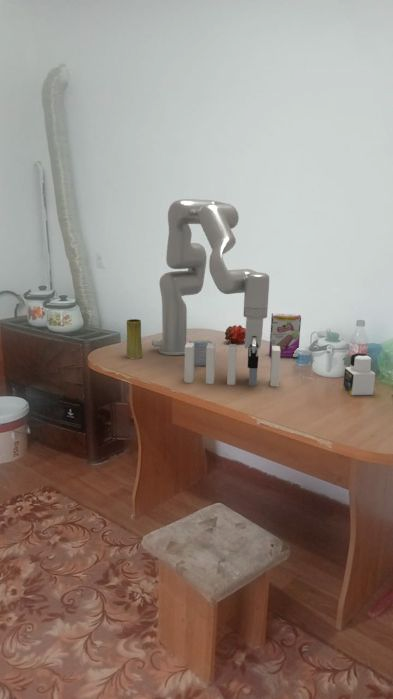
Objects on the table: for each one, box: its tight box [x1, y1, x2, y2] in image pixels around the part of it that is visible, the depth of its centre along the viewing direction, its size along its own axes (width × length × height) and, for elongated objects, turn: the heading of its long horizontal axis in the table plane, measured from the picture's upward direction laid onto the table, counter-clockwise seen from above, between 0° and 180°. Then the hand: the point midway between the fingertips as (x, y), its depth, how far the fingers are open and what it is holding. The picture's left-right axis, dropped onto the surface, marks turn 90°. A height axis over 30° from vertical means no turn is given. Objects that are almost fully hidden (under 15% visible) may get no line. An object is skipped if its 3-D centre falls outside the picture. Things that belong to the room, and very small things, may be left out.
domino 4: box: [248, 346, 258, 387], centre depth 168 cm, size 2×6×12 cm, turn 173°
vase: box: [125, 318, 143, 359], centre depth 196 cm, size 6×6×14 cm
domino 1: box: [184, 342, 195, 384], centre depth 171 cm, size 2×6×12 cm, turn 174°
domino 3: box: [226, 343, 238, 386], centre depth 169 cm, size 2×6×12 cm, turn 174°
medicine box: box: [188, 339, 213, 367], centre depth 188 cm, size 8×4×9 cm, turn 107°
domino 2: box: [205, 342, 216, 385], centre depth 170 cm, size 2×6×12 cm, turn 174°
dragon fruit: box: [224, 324, 246, 344], centre depth 220 cm, size 8×8×12 cm
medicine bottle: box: [343, 352, 376, 396], centre depth 161 cm, size 7×7×12 cm
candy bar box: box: [268, 312, 302, 358], centre depth 199 cm, size 11×5×16 cm, turn 84°
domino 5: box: [269, 346, 281, 388], centre depth 168 cm, size 2×6×12 cm, turn 174°
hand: (252, 363), depth 169 cm, fingers open, 9 cm apart
